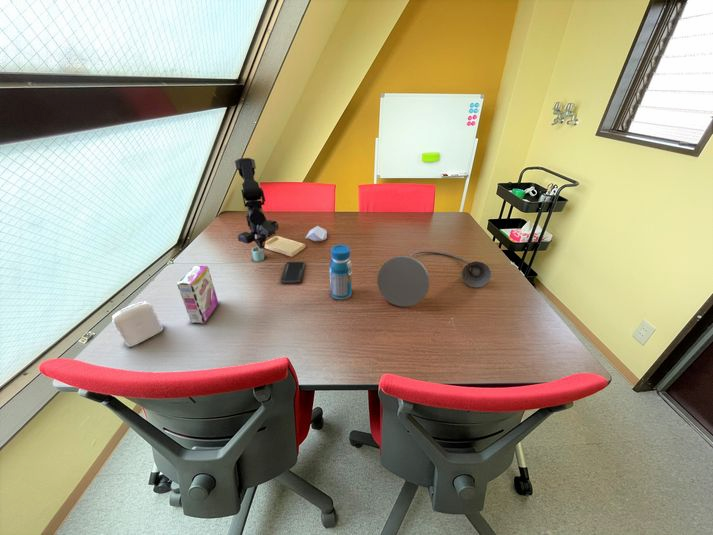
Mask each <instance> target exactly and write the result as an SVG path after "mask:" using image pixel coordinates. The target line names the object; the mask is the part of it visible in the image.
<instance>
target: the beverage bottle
mask: <svg viewBox="0 0 713 535" xmlns="http://www.w3.org/2000/svg"><path fill="white" fill-rule="evenodd" d="M330 256H331V260H330V262H329V281H330V284H329V285H330V295H331V297H332V298H334V299H335V300H346V299H349V298H350V297H351V295H352V292H353V291H352V290H353V289H352V287H353V286H352V284H353V283H352V280H353V278H352V277H353V268H352V267H353V263H352V261H351V258H350V257H351V249H350V247H349V246H348V245H346V244H336V245H333V246H332V247H331V249H330Z"/></svg>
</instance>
